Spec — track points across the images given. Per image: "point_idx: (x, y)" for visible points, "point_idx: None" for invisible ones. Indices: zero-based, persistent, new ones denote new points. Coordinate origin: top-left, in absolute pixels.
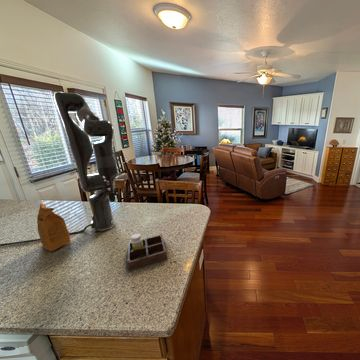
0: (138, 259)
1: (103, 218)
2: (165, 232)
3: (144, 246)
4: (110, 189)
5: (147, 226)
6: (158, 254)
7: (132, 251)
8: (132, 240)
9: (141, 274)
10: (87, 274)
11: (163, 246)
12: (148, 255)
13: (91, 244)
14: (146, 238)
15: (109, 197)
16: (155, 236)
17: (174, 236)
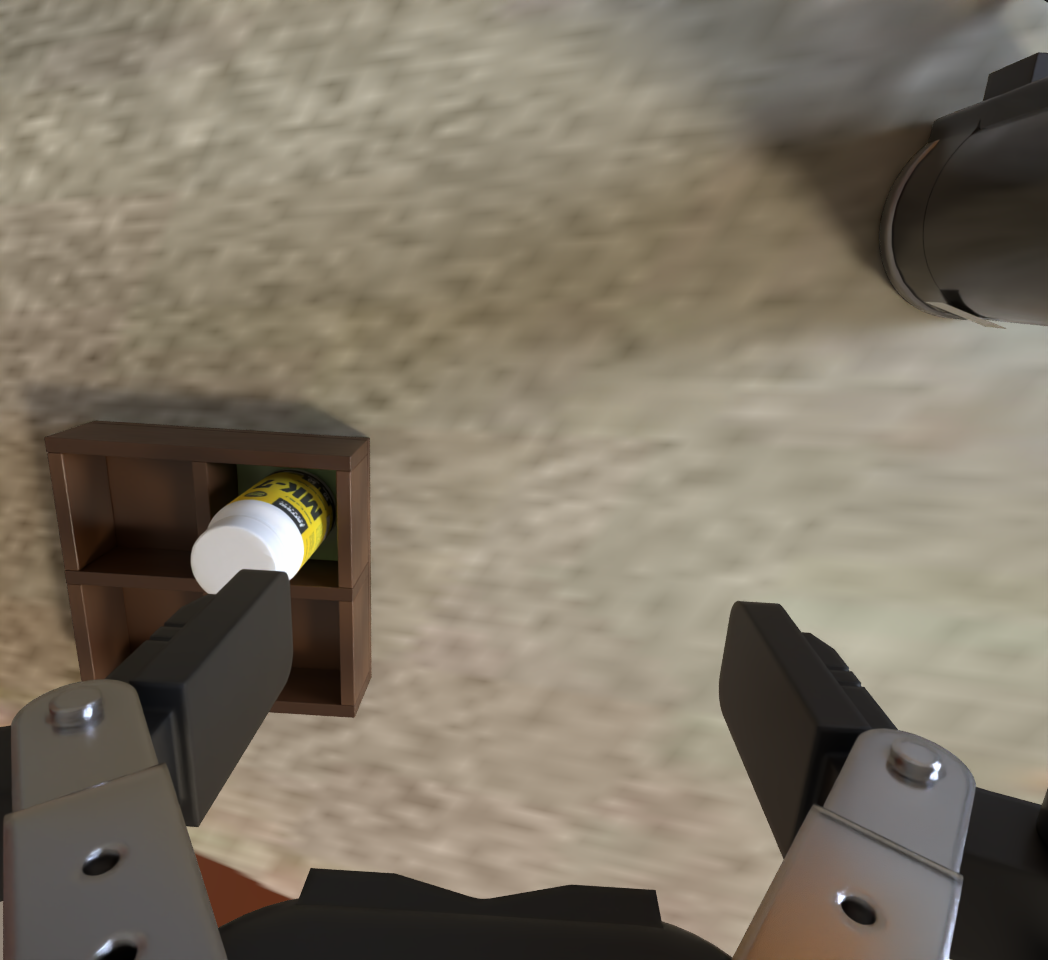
0: (59, 514)
1: (975, 226)
2: (493, 718)
3: (336, 551)
4: (789, 689)
5: (697, 607)
6: (81, 646)
7: (194, 480)
8: (219, 521)
9: (23, 492)
10: (174, 125)
11: None
12: (92, 583)
13: (657, 106)
14: (351, 601)
15: (202, 616)
16: (346, 669)
17: (392, 762)
